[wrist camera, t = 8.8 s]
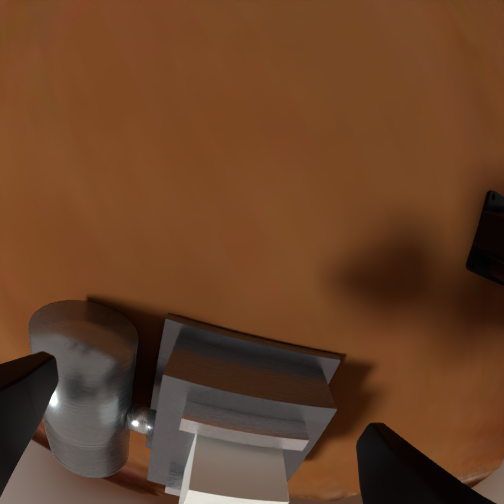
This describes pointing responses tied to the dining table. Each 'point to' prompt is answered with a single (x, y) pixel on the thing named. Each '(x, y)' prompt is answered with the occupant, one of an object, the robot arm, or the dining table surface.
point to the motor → (175, 391)
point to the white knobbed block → (233, 474)
